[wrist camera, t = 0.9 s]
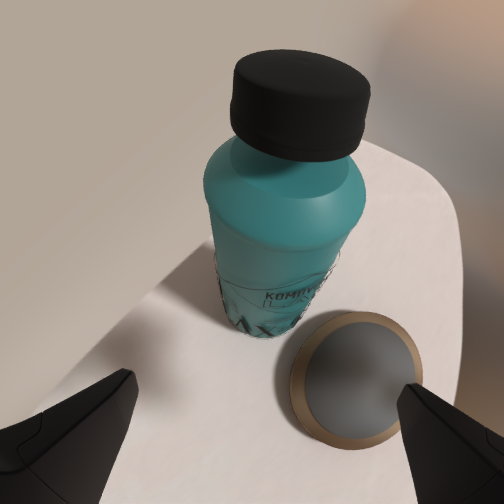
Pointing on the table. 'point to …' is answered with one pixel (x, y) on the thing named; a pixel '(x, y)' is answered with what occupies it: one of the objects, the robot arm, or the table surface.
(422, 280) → the table surface
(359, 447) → the walnut dock
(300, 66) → the beverage bottle
